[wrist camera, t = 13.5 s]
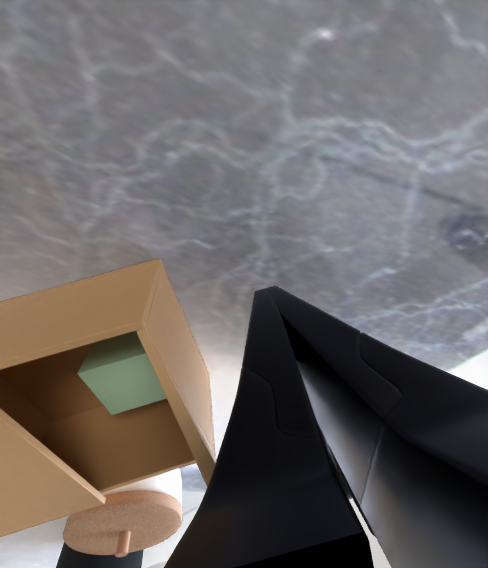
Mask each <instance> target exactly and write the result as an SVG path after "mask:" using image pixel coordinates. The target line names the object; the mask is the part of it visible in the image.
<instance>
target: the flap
mask: <svg viewBox="0 0 488 568" xmlns="http://www.w3.org/2000/svg"><path fill="white" fill-rule="evenodd" d="M137 335H138V337H139V339H140V341H141V343H142V345H143V348H144V350H145V352H146V354H147V356H148V359H149V361H150V363H151V365H152V367H153V369H154V372H155V374H156V376H157V378H158V380H159V383H160V385H161V387H162V389H163V391H164V393H165V396H166V398H167V400H168V402H169V404H170V407H171V409H172V411H173V413H174V415H175V417H176V420H177V422H178V424H179V426H180V428H181V431H182V433H183V435H184V437H185V439H186V441H187V444H188V446H189V448H190V450H191V452H192V455H193V457H194V459H195V461H196V463H197V465H198V468H199V470H200V472H201V474H202V476H203V478H204V481H205V483H206V485H207V487H208V485H209V482H210V479H211V476H212V473H213V470H214V467H215V464H216V461H217V460H216V458H215V456H214V454H213V453H212V451H211V449H210V447H209V445H208V443H207V442H206V440H205V438H204V436H203V434H202V432H201V431H200V429H199V427H198V425H197V423H196V421H195V420H194V418H193V416H192V414H191V412H190V410H189V409H188V407H187V405H186V403H185V401H184V400H183V398H182V396H181V394H180V392H179V390H178V389H177V387H176V385H175V383H174V381H173V379H172V378H171V376H170V374H169V372H168V370H167V368H166V367H165V365H164V363H163V361H162V359H161V358H160V356H159V354H158V352H157V350H156V348H155V347H154V345H153V343H152V341H151V339H150V337H149V336H148V334H147V332H146V330H145V329H144V328H143V329H141V330H139V331H138V332H137Z"/></svg>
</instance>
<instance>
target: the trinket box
mask: <svg viewBox="0 0 488 568" xmlns="http://www.w3.org/2000/svg"><path fill="white" fill-rule="evenodd" d="M101 494H102V495H103V496H105V497H106V500H105V503H104V504H102V505H99V506H96V507H93V508H89V509H86V510H83V511H80V512H77V513H74V514H71V515H70V517H69V518H68V520H67V523H66V526H65V529H64V532H63V538H64V541H65V543H66V544H67V545H68V546H69V547H70V548H72V549H74V550H76V551H79V552H83V553H86V554H94V555H115V556H116V557H124V556H126V555H127V554H128V553H130V552H135V551H139V550H142V549H146V548H149V547H151V546H154V545H156V544H158V543H160V542H163V541H164V540H166V539H168V538H169V537H170V536H172V535H173V534H174V533H175V532H176V531H177V530H178V529H179V527H180V526H181V523H182V517H183V509H182V482H181V473H180V468H179V469H175V470H172V471H169V472H166V473H163V474H160V475H157V476H154V477H150V478H147V479H144V480H141V481H138V482H135V483H132V484H129V485H125V486H122V487H119V488H116V489H113V490H110V491H107V492H104V493H101Z"/></svg>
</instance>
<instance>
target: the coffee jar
mask: <svg viewBox="0 0 488 568" xmlns="http://www.w3.org/2000/svg"><path fill="white" fill-rule="evenodd" d="M142 557H143V549H142V550H139V551H135V552H130V553H128V554H127V555H126V556H124V557H116V556H115V555H94V554H86V553H83V552H79V551H76V550H74V549H72V548H70V547H69V546H68V545H67V544H66V543H65V542H64V545H63V548H62V551H61V554H60V557H59V560H58V563H57V566H56V568H141V565H142Z"/></svg>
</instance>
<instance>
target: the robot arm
mask: <svg viewBox="0 0 488 568" xmlns="http://www.w3.org/2000/svg"><path fill="white" fill-rule="evenodd" d="M352 498H353V500H354V502H355V504H356V505H357V507H358V509H359V511H360V513H361V515H362V517H363V518H364V520H365V522H366V524H367V526H368V528H369V530H370V532H371V533H372V534H373V535H374V536H375V537H376V538H377V540H378V542H379V544H380V546H381V548H382V550H383V552H384V554H385V555H386V557H387V560H388V562H389V564H390V565H391V567H392V568H488V390H487V389H484V388H482V387H479V386H477V385H475V384H472V383H470V382H468V381H466V380H463V379H461V378H459V377H456V376H454V375H452V374H450V373H447V372H445V371H443V370H440V369H438V368H436V367H433V366H431V365H429V364H427V363H424V362H422V361H420V360H417V359H415V358H413V357H411V356H409V355H407V354H404V353H402V352H400V351H398V350H396V349H394V348H392V347H390V346H388V345H386V344H384V343H382V342H380V341H378V340H376V339H374V338H372V337H370V336H368V335H367V334H365V333H361V332H360V331H359V330H357V329H355V328H353V327H351V326H350V325H348V324H346V323H344V322H342V321H340V320H338V319H337V318H335V317H333V316H331V315H329V314H327V313H325V312H324V311H322V310H320V309H318V308H316V307H314V306H312V305H311V304H309V303H307V302H305V301H303V300H301V299H299V298H297V297H296V296H294V295H292V294H290V293H288V292H286V291H284V290H283V289H281V288H279V287H277V286H273V287H269V288H265V289H261V290H258V291H255V293H254V298H253V304H252V310H251V316H250V322H249V328H248V334H247V340H246V346H245V352H244V358H243V364H242V369H241V375H240V380H239V385H238V390H237V395H236V399H235V402H234V406H233V409H232V413H231V417H230V420H229V423H228V426H227V429H226V432H225V435H224V439H223V442H222V445H221V448H220V451H219V454H218V458H217V461H216V464H215V467H214V470H213V473H212V476H211V479H210V482H209V485H208V487H207V490H206V493H205V495H204V497H203V500H202V502H201V504H200V507H199V508H198V510H197V512H196V514H195V516H194V518H193V520H192V521H191V523H190V525H189V526H188V528H187V530H186V531H185V533H184V535H183V536H182V538H181V540H180V541H179V543H178V545H177V546H176V548H175V550H174V551H173V553H172V555H171V556H170V558H169V560H168V561H167V563H166V565H165V567H164V568H374V566H373V561H372V555H371V550H370V544H369V540H368V537H367V535H366V533H365V531H364V530H363V527H362V525H361V523H360V521H359V519H358V517H357V515H356V513H355V511H354V509H353V507H352V505H351V503H350V501H349V499H352Z"/></svg>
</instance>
